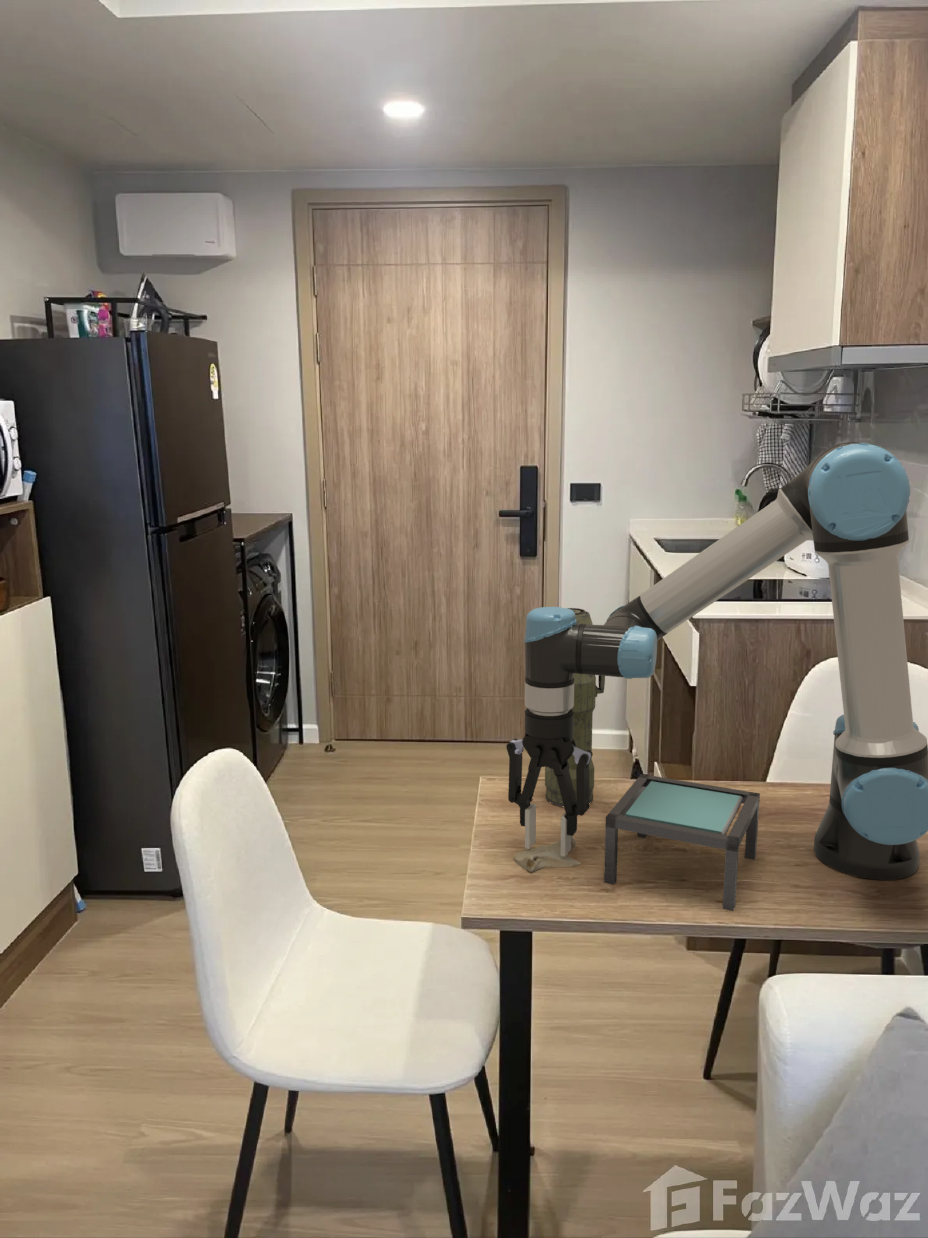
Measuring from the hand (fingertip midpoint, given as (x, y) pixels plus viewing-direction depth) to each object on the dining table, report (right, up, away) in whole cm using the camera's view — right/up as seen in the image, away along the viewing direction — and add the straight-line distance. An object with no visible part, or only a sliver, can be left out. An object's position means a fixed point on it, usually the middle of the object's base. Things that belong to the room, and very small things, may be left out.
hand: (547, 848), depth 146 cm
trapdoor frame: (+20, -2, -4) cm, 21 cm away
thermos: (+6, +3, +23) cm, 24 cm away
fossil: (0, -2, -1) cm, 2 cm away
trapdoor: (+20, +7, -6) cm, 22 cm away
